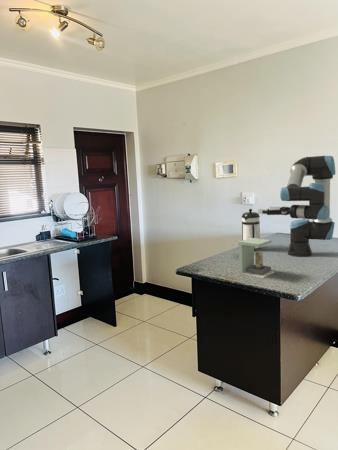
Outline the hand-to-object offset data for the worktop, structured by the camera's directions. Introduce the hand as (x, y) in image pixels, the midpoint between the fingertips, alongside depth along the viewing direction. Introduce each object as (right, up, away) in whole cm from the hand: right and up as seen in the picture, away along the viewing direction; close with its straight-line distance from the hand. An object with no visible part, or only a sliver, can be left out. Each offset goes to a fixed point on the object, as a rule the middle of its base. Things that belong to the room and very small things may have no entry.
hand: (264, 210), depth 204 cm
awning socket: (-6, -36, -9) cm, 38 cm away
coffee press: (+4, -27, +49) cm, 56 cm away
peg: (-5, -36, -8) cm, 37 cm away
